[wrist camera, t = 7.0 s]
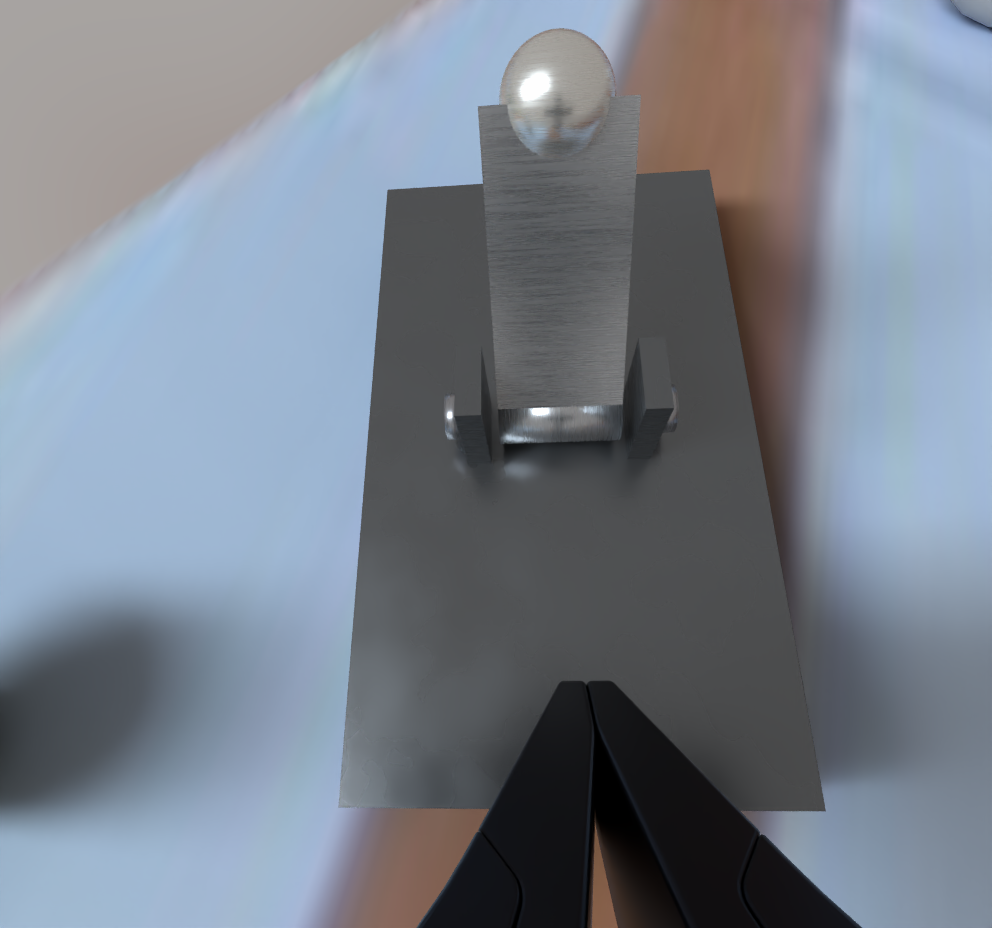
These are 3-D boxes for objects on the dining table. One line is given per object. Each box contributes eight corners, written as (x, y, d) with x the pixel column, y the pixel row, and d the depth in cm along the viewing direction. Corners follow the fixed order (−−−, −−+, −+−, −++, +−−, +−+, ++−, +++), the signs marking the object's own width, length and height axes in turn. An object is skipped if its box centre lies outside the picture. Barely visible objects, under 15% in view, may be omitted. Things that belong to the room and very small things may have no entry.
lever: (623, 459, 19) (650, 14, 13) (500, 462, 19) (470, 29, 13) (611, 416, 21) (629, 28, 15) (502, 420, 22) (479, 40, 16)
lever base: (784, 793, 19) (908, 847, 13) (366, 791, 20) (283, 840, 14) (692, 221, 28) (738, 79, 21) (402, 238, 29) (362, 106, 22)
